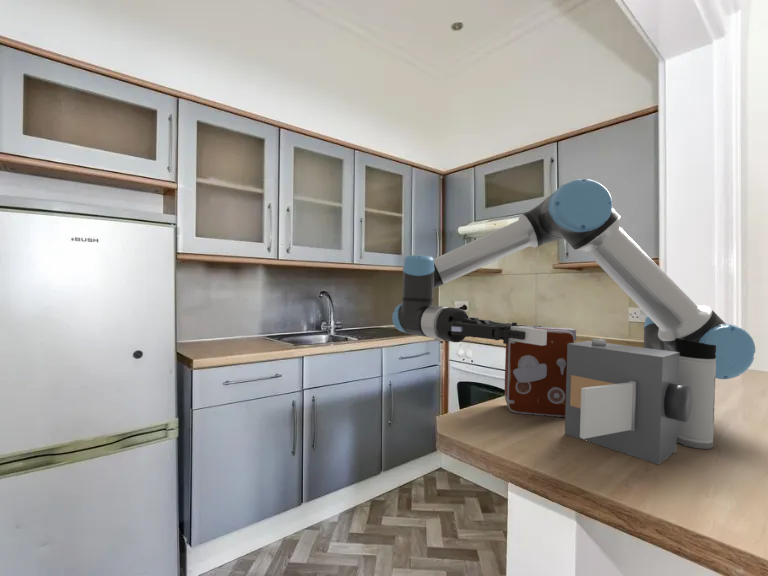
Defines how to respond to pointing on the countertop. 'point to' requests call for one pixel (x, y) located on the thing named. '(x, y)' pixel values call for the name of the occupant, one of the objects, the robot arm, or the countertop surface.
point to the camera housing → (653, 395)
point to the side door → (607, 409)
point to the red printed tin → (538, 374)
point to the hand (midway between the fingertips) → (544, 337)
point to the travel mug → (697, 392)
